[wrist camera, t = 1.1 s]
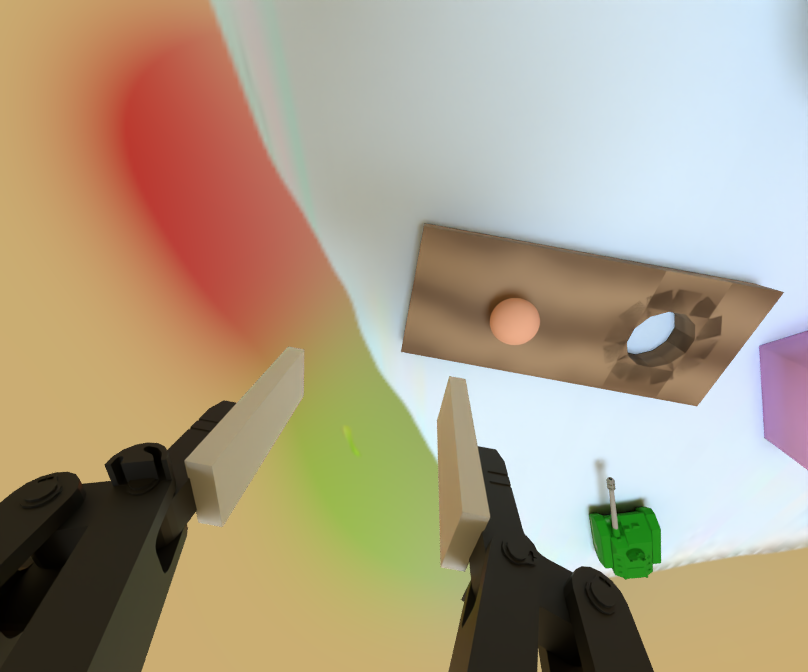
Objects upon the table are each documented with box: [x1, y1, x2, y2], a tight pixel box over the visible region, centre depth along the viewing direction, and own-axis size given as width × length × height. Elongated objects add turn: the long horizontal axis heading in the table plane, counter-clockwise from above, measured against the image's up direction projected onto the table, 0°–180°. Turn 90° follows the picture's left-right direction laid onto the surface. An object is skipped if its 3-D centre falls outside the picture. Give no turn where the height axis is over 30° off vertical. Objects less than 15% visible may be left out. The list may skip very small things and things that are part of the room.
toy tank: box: [589, 477, 661, 579], centre depth 39 cm, size 7×19×5 cm, turn 20°
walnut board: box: [401, 223, 784, 406], centre depth 29 cm, size 12×30×2 cm, turn 81°
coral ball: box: [490, 298, 540, 345], centre depth 26 cm, size 4×4×4 cm
